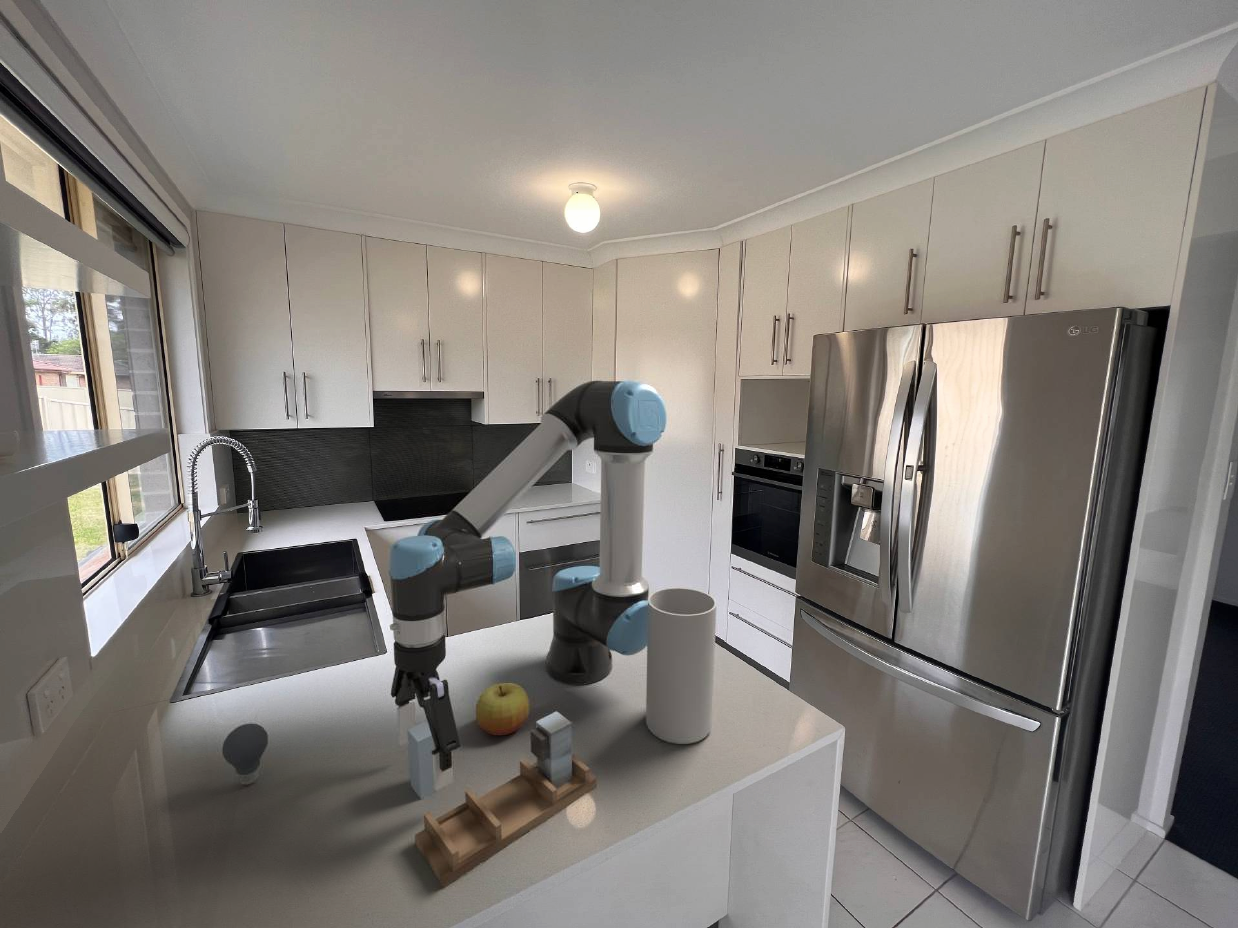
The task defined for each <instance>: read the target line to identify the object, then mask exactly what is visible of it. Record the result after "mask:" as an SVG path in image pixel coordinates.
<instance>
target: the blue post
mask: <svg viewBox="0 0 1238 928" xmlns="http://www.w3.org/2000/svg"><path fill="white" fill-rule="evenodd" d="M407 733H408V742H407V745H408V746H407V748H408V749H407V750H408V764H409V766H408V767H409V777H410V778H409V781H410V786H411V788H412V790H413V791H414V792H415V794H417V796H418V797H419V798H420V800H423V799H424V798H426V797H428V796H430V795H432V794H434V793H436V792H438V791H440V790H441V789H442V790H443V788H445V787H443V788H441V789H439V790H437V791H436V790H435V789H434V776H433V755H432V753H431V751H433V748H435V745H434V741H433V738H432V735H431V731H430V728H429V725H428V721H427V720H426V721H424V722H421V723H419V724H416V726H414V727H412V728H409V729H407Z"/></svg>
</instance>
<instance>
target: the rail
mask: <svg viewBox="0 0 1238 928" xmlns="http://www.w3.org/2000/svg"><path fill="white" fill-rule="evenodd" d="M572 724H573V722H572V721H571V720H568V719H567V718H566V717H565V716H563V714H561V713H560V712H558V711H554V712H552V713H551V714H549V715H546V716H544V717H542V718H541V719H538V720H537V721H535V725H536V727H535V728H534V729H532V730H530V752H531V753H532V754H533V755H534V756H535V757H536V762H534V763H532V764H531V763H530V762H529V761H527V760H526V759H525V758H522V759H520V760H519V775H517V776H516V777H514V778H511V779H510V780H508V781H507V782H505V783H503V784H501V785H499V786H498V787H496V788H494V789H493V790H491V791H489V792H487V793H486V794H484V795H482V796H480V797H479V796H478V795H477V794H476V793H475V792H474V791H473V790H472V789H471V788H468V789H465V791H464V792H465V793H464V794H465V802H463V803H461V804H460V805H458V806H457V807H454V808H452V809H451V810H449V811H447V812H445V813H443V814H442V815H441V816H439V817H437V818H435V816H434V815H433V814H432V813H431V812H430V810H428V811H426V812H424V813H423V823H424V824H423V827H424V829H422V830H421V831H419V832H417V833H415V834H414V841H415V843H414V844H415V846H416V847H417V849H418V851H419V852H420V854H421V855H422V856H423V858H424V859H425V861H426V862H427V864H428V866H429V867H430V869H431V870H432V872H433V874H434V875H435V877H436V878H437V879H438V881H439V883H440V884H441V885H442V887H443V888H445V887H447V886H449V885H450V884H452V883H453V882H455V881H457V879H459V878H461V877H463V876H464V875H465V874H466V873H469V872H470V871H471V870H473V869H475V868H476V867H477V866H479V865H480V864H482V863H483V862H485V861H486V860H489V858H491V857H493V856H494V855H496V854H497V853H498V852H500V851H502V850H503V849H504V848H506V847H508V846H509V845H511V844H512V843H514V842H515V841H516V840H518V839H519V838H520V839H521V837H522V836H524V835H525V834H527V833H528V832H530V831H532V830H533V829H535V828H537V827H538V826H539V825H541V824H542V823H544V822H545V821H547V820H548V819H550V818H551V817H553V816H554V815H556V814H558V813H559V812H561V811H562V810H564V809H565V808H566V807H568V806H570V805H571V804H572V803H574V802H575V801H577V800H578V799H580V798H581V797H583V796H585V795H586V794H587V793H589V792H591V791H592V790H594V789H595V788H596V787H597V777H595V776H594V775H593V774H592V773H591V772H590V768H589V767H588V766H587V765H586V764H585V763H583V762H582V761H581V760H580V759H579V758H577V757H576V756H575V755H574V754H573V742H572V741H573V739H572V737H573V733H572V732H573V731H572V730H573V729H572V727H573V726H572Z"/></svg>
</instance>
